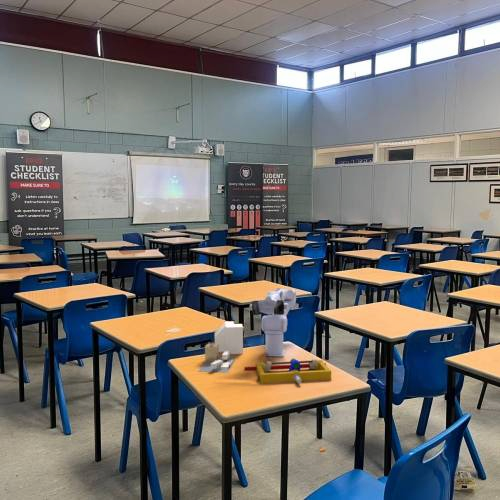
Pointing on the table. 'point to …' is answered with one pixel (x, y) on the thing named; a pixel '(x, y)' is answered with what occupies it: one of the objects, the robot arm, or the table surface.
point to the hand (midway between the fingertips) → (264, 312)
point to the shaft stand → (219, 364)
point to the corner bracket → (230, 338)
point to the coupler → (211, 352)
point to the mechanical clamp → (292, 371)
